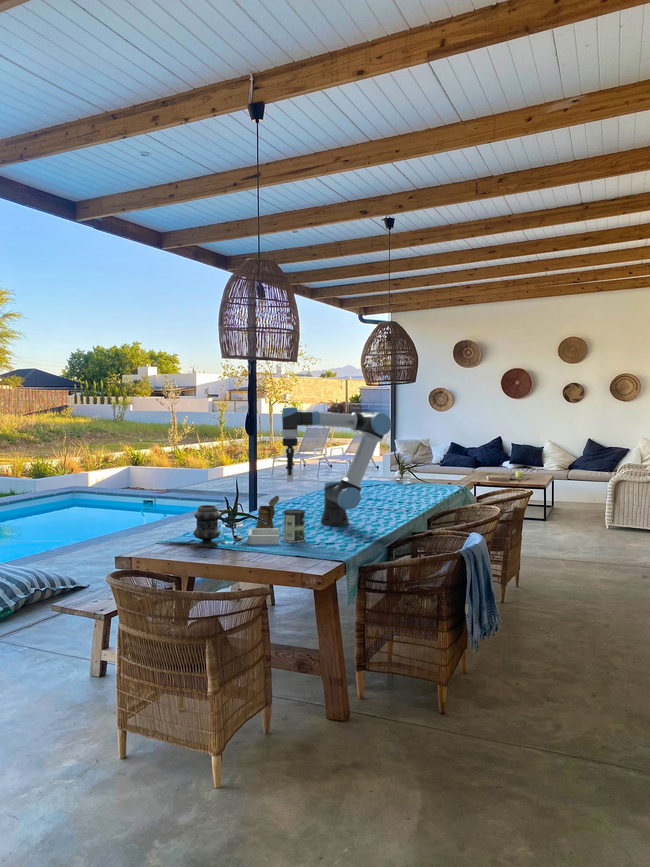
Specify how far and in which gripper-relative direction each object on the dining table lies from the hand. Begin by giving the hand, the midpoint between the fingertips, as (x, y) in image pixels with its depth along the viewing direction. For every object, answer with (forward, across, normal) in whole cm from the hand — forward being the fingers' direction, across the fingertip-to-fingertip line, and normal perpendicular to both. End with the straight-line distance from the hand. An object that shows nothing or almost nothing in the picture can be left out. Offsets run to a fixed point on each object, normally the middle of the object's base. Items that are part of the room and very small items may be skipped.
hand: (290, 480), depth 311 cm
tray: (+26, +18, -12) cm, 34 cm away
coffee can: (+27, +17, +2) cm, 32 cm away
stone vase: (+26, +28, -38) cm, 54 cm away
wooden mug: (+27, -9, -12) cm, 31 cm away
